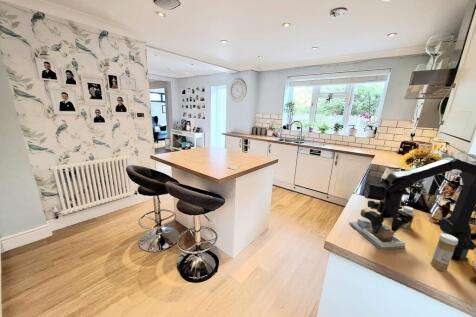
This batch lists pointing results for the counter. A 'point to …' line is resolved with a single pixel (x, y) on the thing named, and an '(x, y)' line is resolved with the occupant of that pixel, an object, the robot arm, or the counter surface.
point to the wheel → (363, 212)
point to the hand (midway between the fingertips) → (383, 233)
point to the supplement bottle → (410, 211)
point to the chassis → (366, 230)
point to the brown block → (385, 234)
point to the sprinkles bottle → (444, 251)
